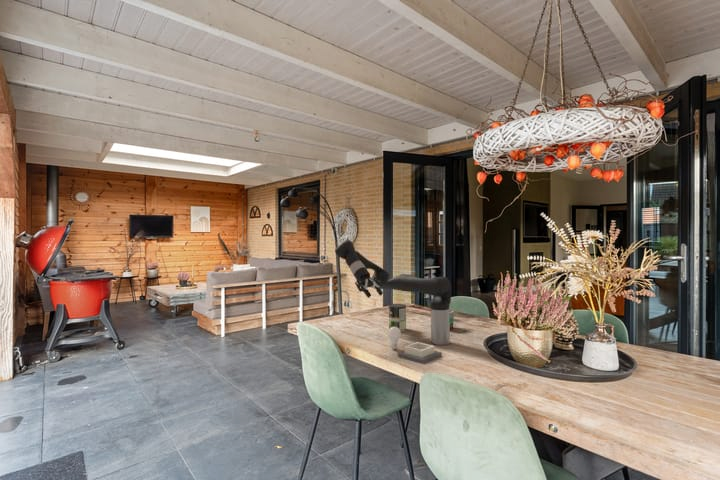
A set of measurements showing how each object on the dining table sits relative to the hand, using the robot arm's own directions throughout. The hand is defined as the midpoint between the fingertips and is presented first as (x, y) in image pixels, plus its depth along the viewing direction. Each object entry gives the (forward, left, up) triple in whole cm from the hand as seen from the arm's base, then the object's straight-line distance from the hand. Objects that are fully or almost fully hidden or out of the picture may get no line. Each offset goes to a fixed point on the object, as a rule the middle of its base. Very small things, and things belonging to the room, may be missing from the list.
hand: (375, 295), depth 185 cm
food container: (-21, +47, -25) cm, 58 cm away
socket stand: (+22, +15, -25) cm, 36 cm away
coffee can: (-27, +18, -25) cm, 41 cm away
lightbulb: (+10, +7, -25) cm, 28 cm away
